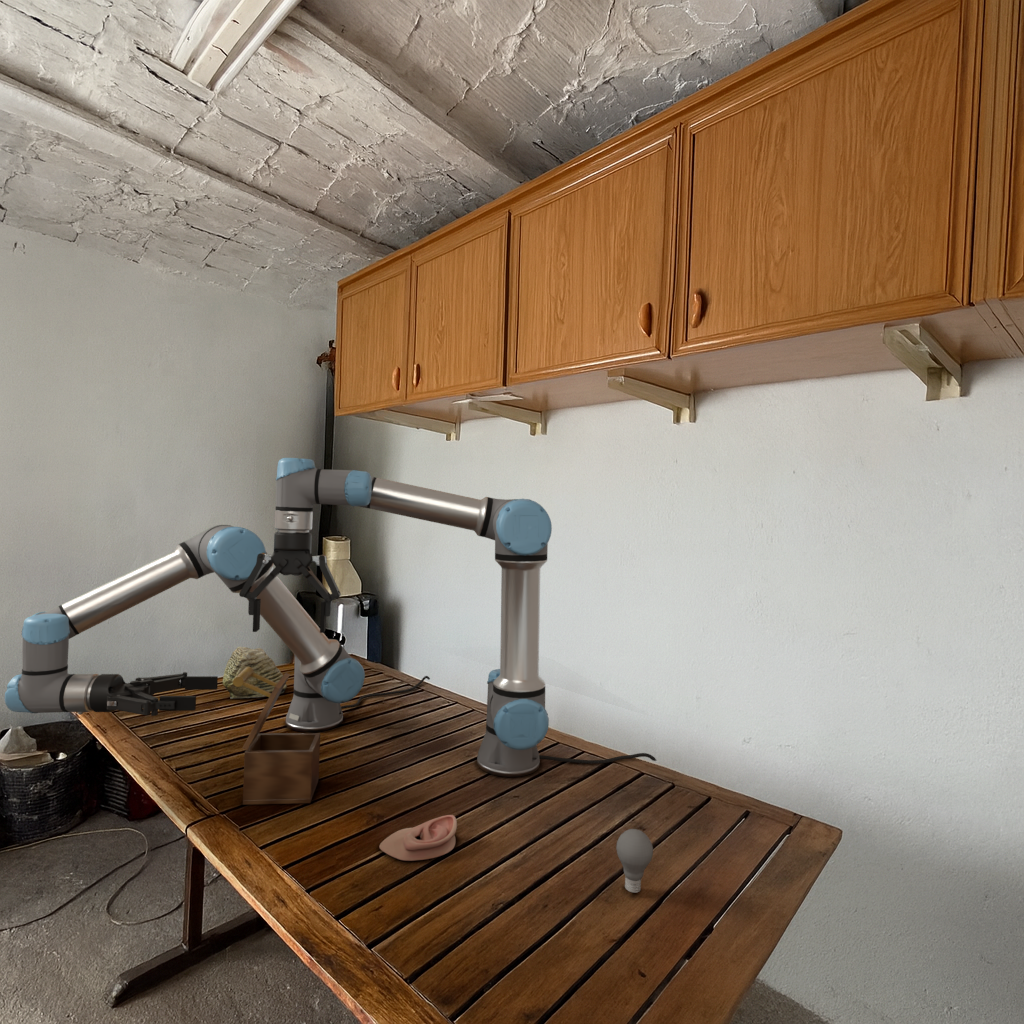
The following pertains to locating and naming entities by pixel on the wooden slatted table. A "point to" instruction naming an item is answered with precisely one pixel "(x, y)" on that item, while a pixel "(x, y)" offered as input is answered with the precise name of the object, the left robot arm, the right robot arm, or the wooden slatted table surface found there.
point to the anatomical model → (422, 840)
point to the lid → (272, 696)
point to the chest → (281, 768)
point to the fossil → (259, 665)
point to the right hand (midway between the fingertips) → (289, 631)
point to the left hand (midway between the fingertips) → (206, 692)
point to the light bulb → (634, 857)
